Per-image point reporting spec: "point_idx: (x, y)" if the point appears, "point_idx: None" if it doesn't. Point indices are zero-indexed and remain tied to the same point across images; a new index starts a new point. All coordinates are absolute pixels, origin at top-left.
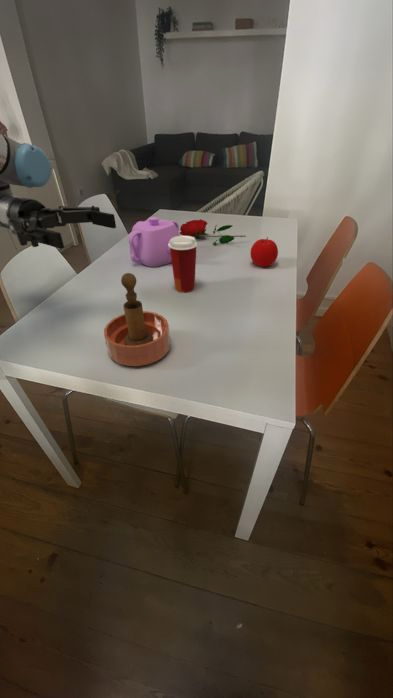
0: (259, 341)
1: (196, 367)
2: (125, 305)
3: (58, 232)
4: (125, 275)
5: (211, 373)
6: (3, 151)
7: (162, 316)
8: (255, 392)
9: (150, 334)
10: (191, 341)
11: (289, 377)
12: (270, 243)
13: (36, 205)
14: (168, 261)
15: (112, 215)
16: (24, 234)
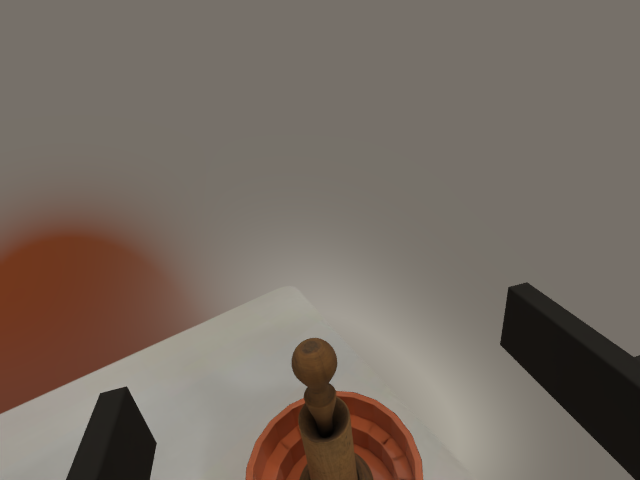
0: (173, 369)
1: (294, 381)
2: (339, 433)
3: (518, 294)
4: (321, 343)
5: (289, 359)
6: None
7: (248, 464)
8: (280, 313)
9: (304, 471)
10: (237, 444)
11: (232, 310)
12: None
13: None
14: None
15: (117, 392)
16: None
